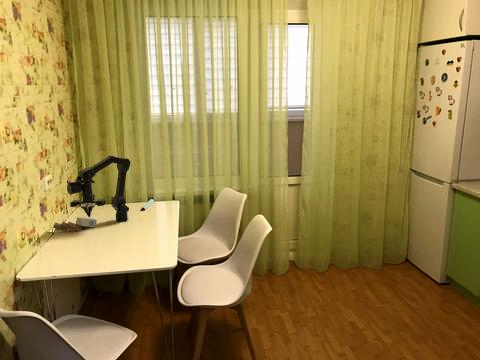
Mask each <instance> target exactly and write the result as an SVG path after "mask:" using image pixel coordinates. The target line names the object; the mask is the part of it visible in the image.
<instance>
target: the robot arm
mask: <svg viewBox="0 0 480 360" xmlns="http://www.w3.org/2000/svg"><path fill="white" fill-rule="evenodd" d="M112 164H116V169H117V172H118V174H117V181H116V187H115V188H116V189H115V190H116V191H115V195H114V196H113V197H111V202H110V205H111V207H112V208H113V210H114V211H116V213H115V220H116V221H115V222H116V223H122V222H127V221H128V220H129V215H128V212H129V211H130V207H129V206H127V205H126V199H125V187H126V180H127V173H128V171H129V169H130V166H131V165H132V163H131V160H130V159H129V158H126V157H117V156H114V155H107V157H105V158H103V159H101V160H100V161H99V162H97V163H95V164H93V165H92V166H89V167H85V168H83V169H81V170H79V171H78V175H77V177H76V178H75V180H74V181H69V182H67V186H66V191H67V193H68V195H74V194H80V193H81V198H82V201H80V200H79V199H73V200H72V201H70V204H69V207H70V208H76V207H77V206H80V208H81V209H82V210H83V211H84V212H85V214H86V216H87V218H91V215H92V210H93V209H94V208H95V207H96V206H97V207H104V206H105V205H107V204H106V202H107V201H106V200H105V198H98V199H97V200H96V194H94V192H93V187H92V184H95V183H96V181H95V180H94V179H93V178H95V176H96V174H97V173H99V172H100V171H102V170H104V169H105V168H107V167H108V166H110V165H112Z"/></svg>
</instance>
